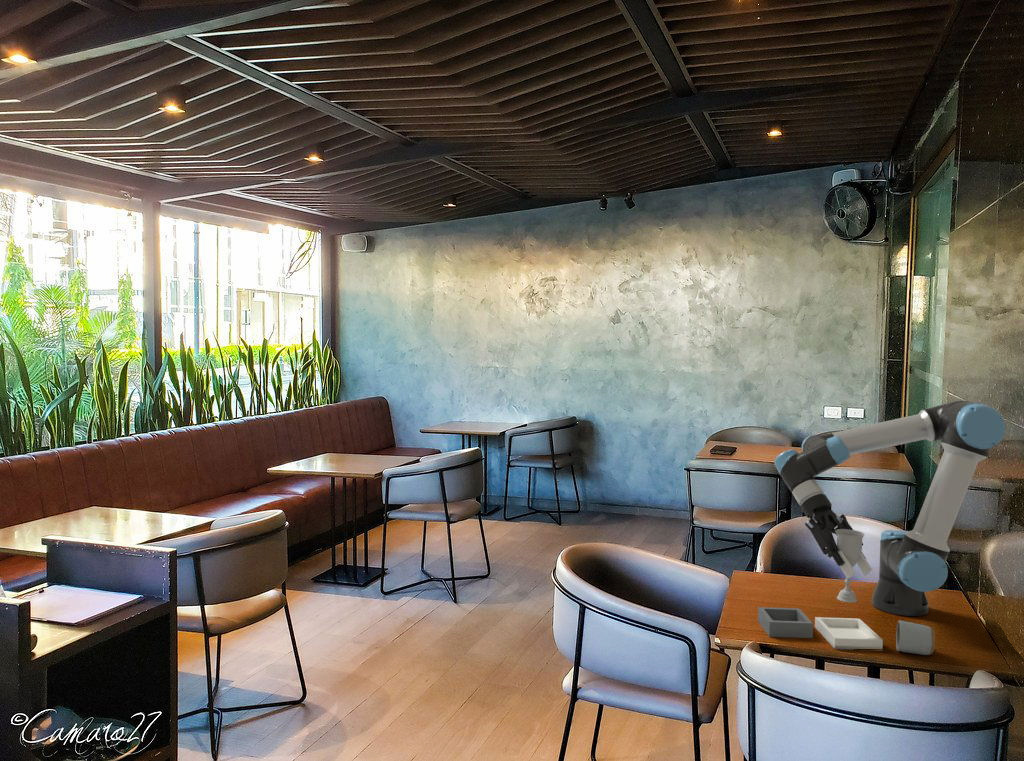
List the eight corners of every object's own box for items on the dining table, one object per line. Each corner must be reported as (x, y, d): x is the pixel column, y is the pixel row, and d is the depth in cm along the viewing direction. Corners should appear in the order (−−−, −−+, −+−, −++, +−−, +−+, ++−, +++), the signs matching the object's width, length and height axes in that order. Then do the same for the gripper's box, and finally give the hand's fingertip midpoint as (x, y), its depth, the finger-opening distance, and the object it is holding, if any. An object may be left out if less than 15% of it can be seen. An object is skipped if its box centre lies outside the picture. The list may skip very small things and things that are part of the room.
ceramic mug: (935, 660, 189) (936, 630, 189) (898, 655, 192) (899, 625, 192) (928, 645, 199) (929, 616, 199) (893, 641, 202) (894, 612, 202)
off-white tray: (859, 628, 210) (859, 618, 210) (882, 650, 195) (882, 639, 195) (814, 627, 211) (815, 617, 211) (834, 648, 196) (834, 638, 196)
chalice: (867, 600, 201) (870, 533, 200) (852, 605, 198) (855, 537, 197) (841, 593, 207) (844, 527, 206) (827, 597, 204) (829, 531, 203)
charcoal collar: (799, 622, 214) (799, 608, 214) (812, 638, 203) (813, 623, 203) (757, 621, 215) (758, 607, 215) (769, 636, 203) (769, 621, 203)
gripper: (827, 504, 219) (875, 576, 206) (780, 510, 211) (826, 585, 197) (844, 490, 214) (893, 562, 201) (795, 495, 206) (844, 571, 192)
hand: (860, 574), depth 199 cm, fingers closed on chalice, 6 cm apart
